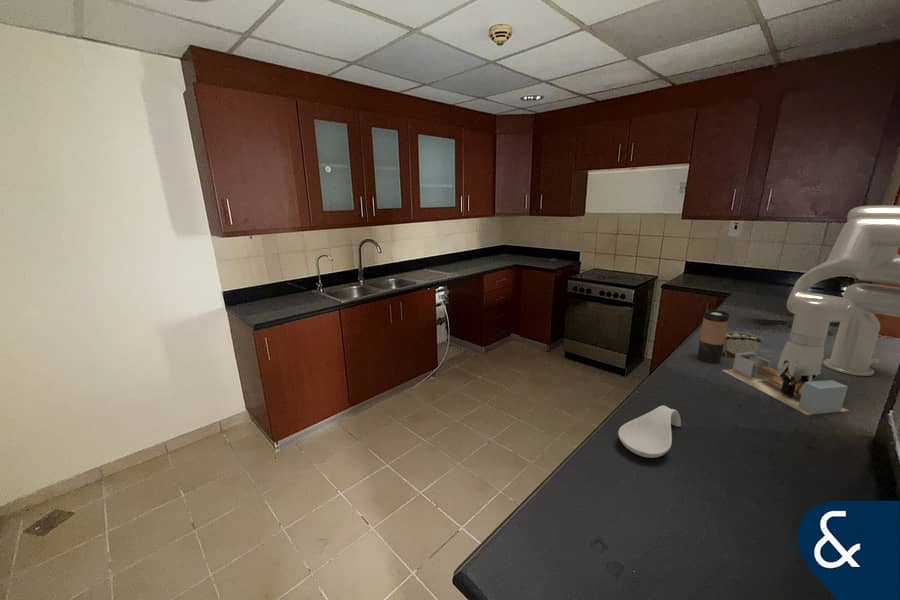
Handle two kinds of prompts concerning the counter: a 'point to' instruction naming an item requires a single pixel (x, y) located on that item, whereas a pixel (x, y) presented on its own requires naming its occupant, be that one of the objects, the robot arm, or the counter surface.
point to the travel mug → (712, 336)
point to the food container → (741, 343)
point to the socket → (823, 396)
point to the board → (773, 391)
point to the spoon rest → (650, 432)
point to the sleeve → (749, 365)
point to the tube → (771, 376)
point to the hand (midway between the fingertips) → (793, 393)
